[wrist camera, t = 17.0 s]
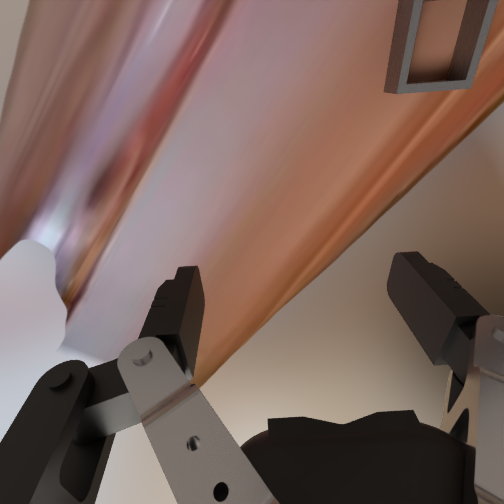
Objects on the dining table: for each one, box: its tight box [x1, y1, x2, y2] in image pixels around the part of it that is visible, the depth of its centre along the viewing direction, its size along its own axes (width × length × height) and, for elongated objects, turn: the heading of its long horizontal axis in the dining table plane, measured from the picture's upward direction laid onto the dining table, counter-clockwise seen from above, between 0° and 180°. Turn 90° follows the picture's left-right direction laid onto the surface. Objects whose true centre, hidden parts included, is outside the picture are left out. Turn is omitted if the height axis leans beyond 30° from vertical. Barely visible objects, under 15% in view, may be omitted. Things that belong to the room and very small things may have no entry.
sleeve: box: [384, 0, 498, 94], centre depth 35 cm, size 11×10×4 cm
